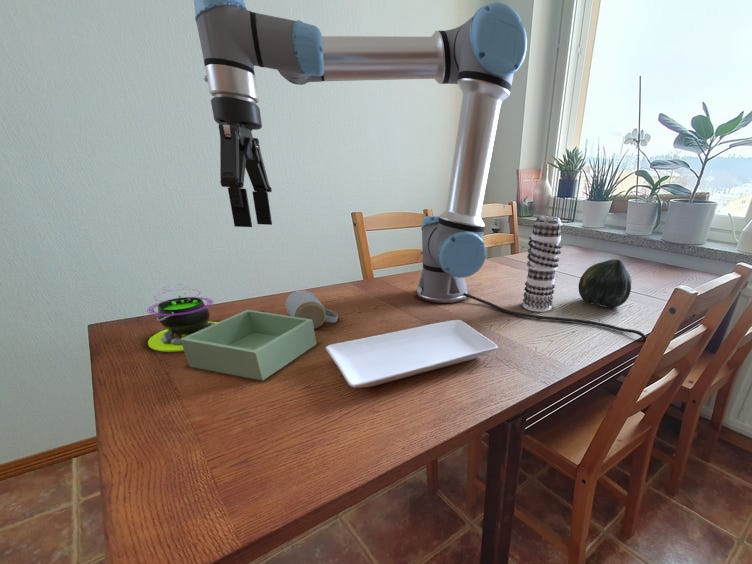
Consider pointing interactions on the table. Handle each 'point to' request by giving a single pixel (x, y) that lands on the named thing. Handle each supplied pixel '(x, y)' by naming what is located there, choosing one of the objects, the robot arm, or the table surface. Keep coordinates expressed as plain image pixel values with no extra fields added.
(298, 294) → the ceramic mug
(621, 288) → the squash
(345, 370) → the tray
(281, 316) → the bin
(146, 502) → the table surface
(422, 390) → the table surface
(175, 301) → the toy cauldron
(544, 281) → the decorative candle
